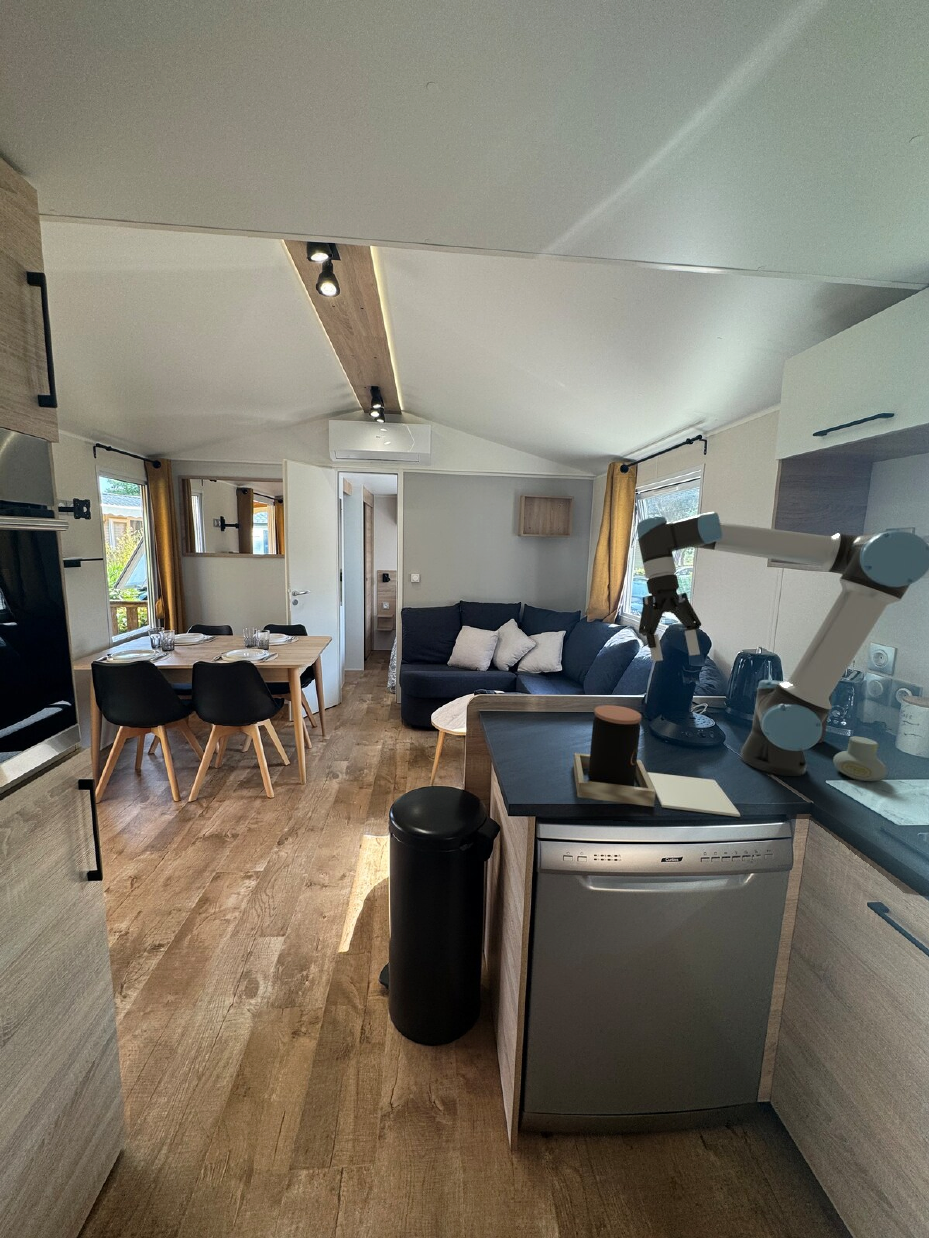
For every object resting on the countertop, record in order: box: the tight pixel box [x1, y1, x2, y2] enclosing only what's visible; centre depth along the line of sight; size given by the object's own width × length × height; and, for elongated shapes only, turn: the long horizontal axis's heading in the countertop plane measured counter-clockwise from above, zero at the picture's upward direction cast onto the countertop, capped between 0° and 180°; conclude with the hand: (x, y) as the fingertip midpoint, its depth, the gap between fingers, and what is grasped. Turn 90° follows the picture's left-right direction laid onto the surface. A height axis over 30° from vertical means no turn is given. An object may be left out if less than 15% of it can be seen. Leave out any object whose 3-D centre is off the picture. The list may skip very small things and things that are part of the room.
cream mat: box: [646, 771, 741, 818], centre depth 114 cm, size 16×16×1 cm
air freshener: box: [832, 735, 888, 782], centre depth 128 cm, size 11×8×10 cm
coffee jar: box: [587, 704, 642, 787], centre depth 115 cm, size 11×11×18 cm
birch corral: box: [572, 752, 656, 807], centre depth 116 cm, size 16×16×4 cm
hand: (676, 657), depth 124 cm, fingers open, 13 cm apart
